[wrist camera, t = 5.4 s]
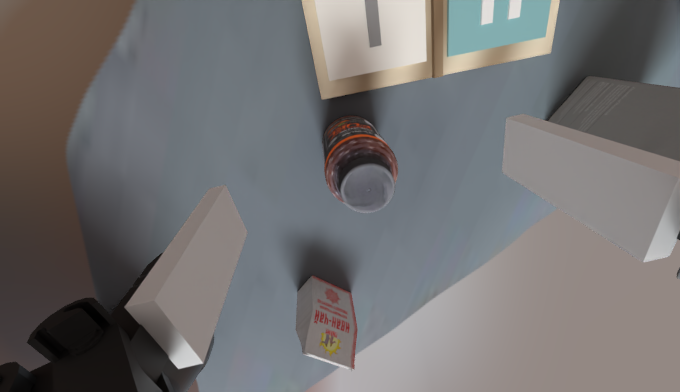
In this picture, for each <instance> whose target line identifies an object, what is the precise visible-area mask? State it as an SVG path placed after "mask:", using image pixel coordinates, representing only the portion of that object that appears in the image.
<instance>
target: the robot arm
mask: <svg viewBox="0 0 680 392" xmlns="http://www.w3.org/2000/svg"><path fill="white" fill-rule="evenodd" d="M502 173H504V174H505V175H507V176H508V177H510V178H512V179H513V180H515V181H516V182H518V183H519V184H521V185H522V186H524V187H526V188H527V189H529V190H530V191H532V192H533V193H535V194H537V195H538V196H540V197H541V198H543V199H544V200H546V201H548V202H549V203H551V204H552V205H554V206H555V207H557V208H558V209H560V210H562V211H563V212H565V213H566V214H568V215H570V216H571V217H573V218H574V219H576V220H577V221H579V222H580V223H582V224H583V225H585V226H587V227H589V228H590V229H591V230H593V231H594V232H596V233H598V234H599V235H601V236H602V237H604V238H605V239H607V240H609V241H610V242H612V243H613V244H615V245H616V246H618V247H619V248H621V249H623V250H624V251H626V252H627V253H629V254H630V255H632V256H634V257H635V258H637V259H638V260H640V261H641V262H647V261H652V260H656V259H660V258H664V257H669V256H670V254H671V251H672V250H673V247H674V245H675V243H676V241H677V239H679V240H680V161H677V160H673V159H670V158H667V157H664V156H660V155H657V154H654V153H650V152H647V151H644V150H641V149H637V148H634V147H631V146H627V145H624V144H621V143H617V142H614V141H611V140H608V139H604V138H601V137H598V136H594V135H591V134H588V133H584V132H581V131H578V130H575V129H571V128H568V127H565V126H561V125H558V124H555V123H551V122H548V121H545V120H542V119H538V118H535V117H532V116H528V115H525V114H520V115H516V116H512V117H508V118H506V129H505V141H504V154H503V167H502ZM247 233H248V232H247V230H246V228H245V226H244V224H243V222H242V219H241V217H240V215H239V213H238V211H237V209H236V207H235V204H234V202H233V200H232V198H231V196H230V194H229V192H228V189H227V187H226V185H223V186H218V187H214V188H210V189H209V190H208V191H207V193H206V194H205V195H204V197H203V198H202V200H201V201H200V202H199V204H198V205H197V207H196V208H195V209H194V211H193V212H192V213H191V215H190V216H189V218H188V219H187V220H186V222H185V223H184V225H183V226H182V227H181V229H180V230H179V232H178V233H177V234H176V236H175V237H174V239H173V240H172V241H171V243H170V244H169V246H168V247H167V248H166V250H165V251H164V253H161V254H160V255H159V256H158V257H157V258H155V259H154V260H153V261H152V262H151V263H150V264H148V266H147V267H146V268H145V270H144V271H143V272H142V274H141V275H140V278H138V279H137V281H136V282H135V283H134V285H133V287H132V288H131V289H130V290H129V291H128V293H127V294H126V295H125V297H124V298H123V299H122V301H121V302H120V303H119V305H118V306H117V307H116V308H115V309H113V310H112V311H110V312H109V313H108V312H107V311H106V310H105V309H104V308H103V307H102V306H101V305H100V304H99V303H98V301H97V300H95V299H94V298H84V299H81V300H77V301H75V302H73V303H71V304H69V305H67V306H64V307H63V308H61V309H60V310H58V311H57V312H55V313H54V314H52V315H50V316H49V317H48V318H47V319H45V320H44V321H43V322H42V323H41V324H40V325H39V326H38V327H37V328H36V329H35V330H34V331H33V332H32V334H31V335H30V337H29V339H28V341H27V343H28V344H29V345H31V346H32V347H33V348H34V349H36V350H37V351H38V352H39V353H41V354H42V355H43V356H44V357H46V358H47V359H48V360H49V361H51V362H50V363H48V364H45V365H43V366H41V367H39V368H37V369H34V370H32V371H30V372H29V371H27V370H26V369H25V368H23V367H22V366H21V365H19V364H18V363H17V362H10V363H5V364H3V365H0V392H187V391H188V389H189V387H190V386H191V385H192V383H193V382H194V380H195V379H196V377H197V375H198V374H199V373H200V372H201V370H202V369H203V368H204V367H205V365H206V363H207V361H208V359H209V356H210V353H211V350H212V347H213V343H214V337H213V333H214V331H215V328H216V325H217V322H218V319H219V316H220V313H221V310H222V307H223V304H224V301H225V298H226V295H227V292H228V289H229V286H230V283H231V280H232V277H233V274H234V271H235V268H236V265H237V262H238V259H239V256H240V253H241V250H242V247H243V244H244V241H245V238H246V235H247ZM677 278H679V279H680V269H679V270H678V272H677Z"/></svg>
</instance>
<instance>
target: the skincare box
mask: <svg viewBox="0 0 680 392" xmlns="http://www.w3.org/2000/svg"><path fill="white" fill-rule="evenodd" d="M548 122H551V123H555V124H558V125H561V126H565V127H568V128H571V129H575V130H578V131H581V132H584V133H588V134H591V135H594V136H598V137H601V138H604V139H608V140H611V141H614V142H617V143H621V144H624V145H627V146H631V147H634V148H637V149H641V150H644V151H647V152H650V153H654V154H657V155H660V156H664V157H667V158H670V159H673V160H677V161H680V88H677V87H670V86H662V85H654V84H646V83H639V82H632V81H624V80H617V79H610V78H603V77H594V76H588V77H586V78H585V79H584V80H583V82H582V83H581V84H580V85H579V86H578V87H577V88H576V90H575V91H574V92H573V93H572V94H571V95H570V96H569V97H568V99H567V100H566V101H565V102H564V103H563V104H562V105H561V106H560V107H559V109H558V110H557V111H556V112H555V113H554V114H553V115H552V116H551V118H550V119H549V120H548Z"/></svg>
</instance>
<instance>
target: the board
mask: <svg viewBox="0 0 680 392" xmlns="http://www.w3.org/2000/svg"><path fill="white" fill-rule="evenodd" d="M559 1H560V0H551V5H550V12H549V18H548V25H547V31H546V37H543V38H538V39H533V40H528V41H524V42H519V43H514V44H509V45H504V46H499V47H494V48H489V49H484V50H479V51H475V52H470V53H465V54H460V55H455V56H450V57H447V0H425V13H426V54H427V61H425V62H421V63H416V64H411V65H406V66H401V67H396V68H391V69H386V70H381V71H376V72H372V73H367V74H362V75H357V76H352V77H347V78H342V79H337V80H332V81H329V78H328V72H327V67H326V62H325V56H324V51H323V45H322V40H321V34H320V29H319V23H318V18H317V12H316V7H315V2H314V0H302V5H303V10H304V15H305V20H306V25H307V30H308V35H309V40H310V45H311V50H312V55H313V60H314V65H315V69H316V74H317V79H318V84H319V89H320V94H321V99H322V100H323V99H328V98H333V97H338V96H343V95H348V94H353V93H358V92H363V91H367V90H372V89H377V88H382V87H387V86H392V85H397V84H402V83H407V82H412V81H416V80H421V79H426V78H431V77H433V78H437V77H441V76H443V75H446V74H451V73H456V72H461V71H465V70H470V69H475V68H480V67H485V66H490V65H495V64H500V63H505V62H510V61H514V60H519V59H524V58H529V57H534V56H539V55H544V54H549V53H551V48H552V42H553V36H554V31H555V25H556V19H557V13H558V7H559Z"/></svg>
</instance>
